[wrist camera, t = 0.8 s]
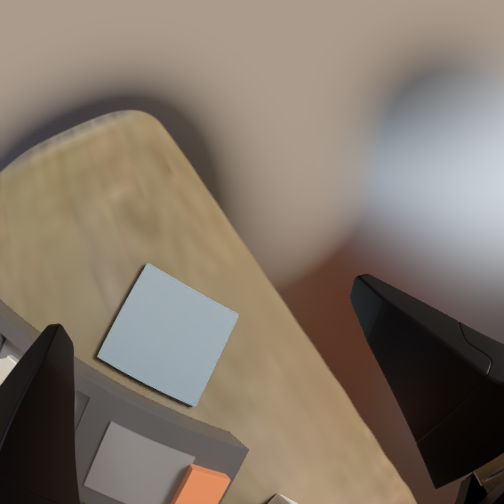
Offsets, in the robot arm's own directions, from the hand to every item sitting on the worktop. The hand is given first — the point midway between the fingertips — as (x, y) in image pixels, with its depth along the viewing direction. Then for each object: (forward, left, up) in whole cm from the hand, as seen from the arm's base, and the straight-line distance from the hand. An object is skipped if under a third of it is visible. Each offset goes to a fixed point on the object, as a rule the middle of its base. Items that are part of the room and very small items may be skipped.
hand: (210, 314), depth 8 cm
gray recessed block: (-10, +5, -14) cm, 18 cm away
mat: (-1, -1, -14) cm, 14 cm away
